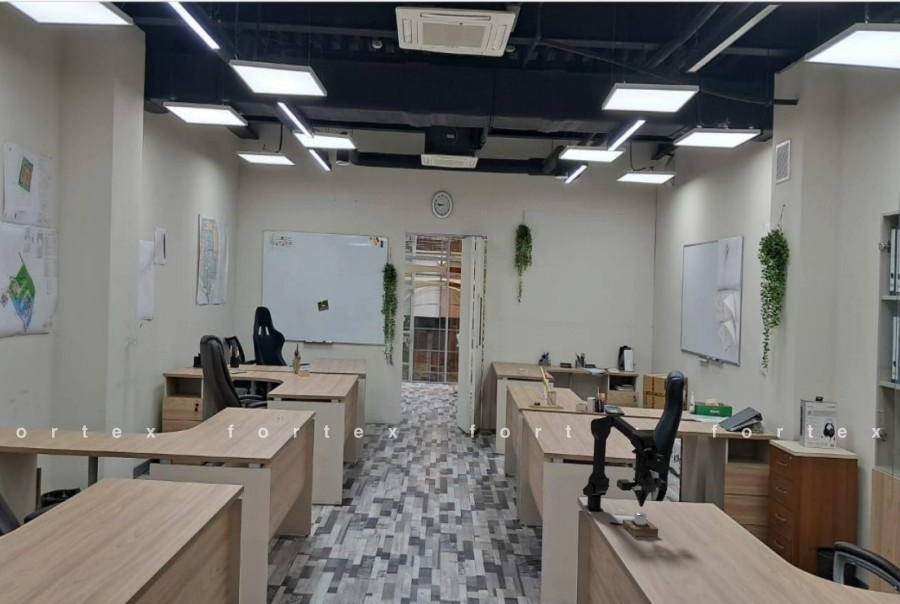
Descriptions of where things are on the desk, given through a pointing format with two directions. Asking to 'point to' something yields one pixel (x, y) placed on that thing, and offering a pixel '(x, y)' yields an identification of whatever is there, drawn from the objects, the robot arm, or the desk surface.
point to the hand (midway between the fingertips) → (641, 506)
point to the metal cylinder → (640, 519)
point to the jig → (640, 528)
